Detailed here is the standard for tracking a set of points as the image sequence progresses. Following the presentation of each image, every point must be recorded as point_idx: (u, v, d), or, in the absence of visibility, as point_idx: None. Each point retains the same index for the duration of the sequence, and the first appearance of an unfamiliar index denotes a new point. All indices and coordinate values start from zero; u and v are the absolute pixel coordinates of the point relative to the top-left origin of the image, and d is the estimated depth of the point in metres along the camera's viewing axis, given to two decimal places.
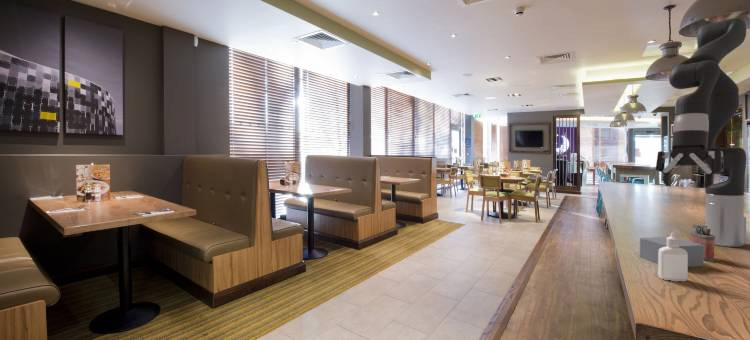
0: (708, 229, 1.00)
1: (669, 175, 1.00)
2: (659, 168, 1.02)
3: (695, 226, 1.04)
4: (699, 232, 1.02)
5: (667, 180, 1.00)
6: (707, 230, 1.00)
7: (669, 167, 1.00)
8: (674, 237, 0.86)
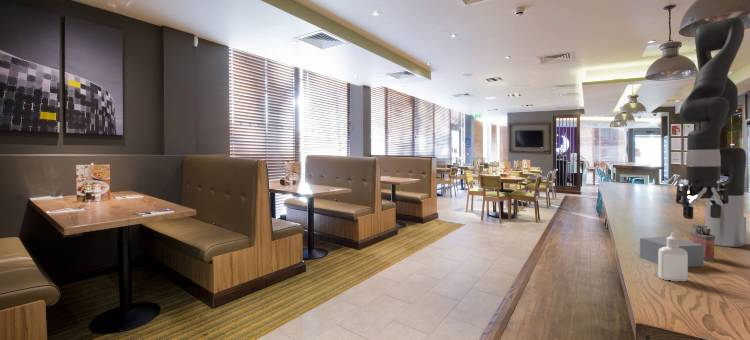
0: (708, 229, 1.00)
1: None
2: (686, 202, 1.01)
3: (695, 226, 1.04)
4: (699, 232, 1.02)
5: (692, 213, 1.01)
6: (707, 230, 1.00)
7: (694, 201, 1.01)
8: (674, 237, 0.86)
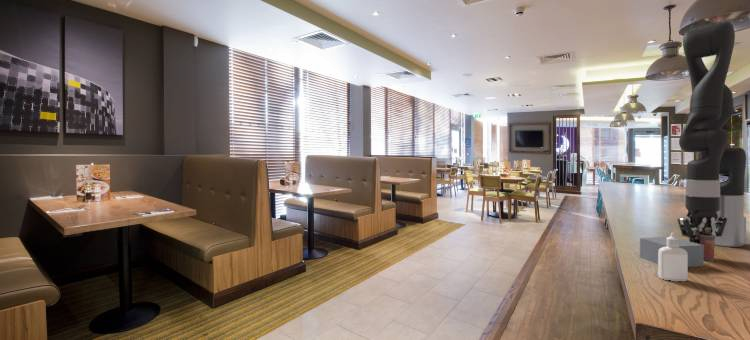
0: (708, 229, 1.00)
1: None
2: (692, 235, 1.01)
3: None
4: None
5: None
6: (707, 230, 1.00)
7: (698, 233, 1.01)
8: (674, 237, 0.86)
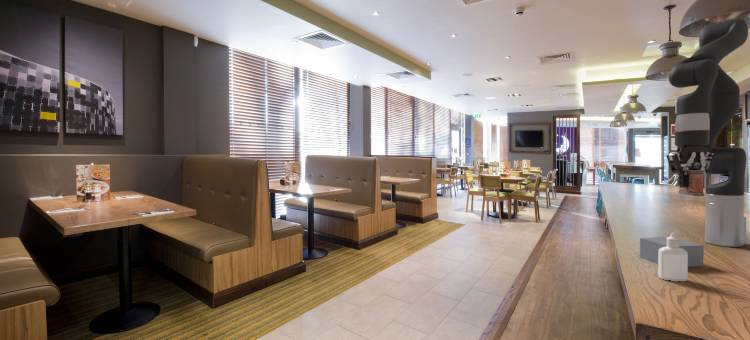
0: (697, 163, 0.98)
1: None
2: (681, 170, 0.99)
3: None
4: None
5: (688, 182, 0.99)
6: (696, 164, 0.98)
7: (688, 168, 0.99)
8: (674, 237, 0.86)
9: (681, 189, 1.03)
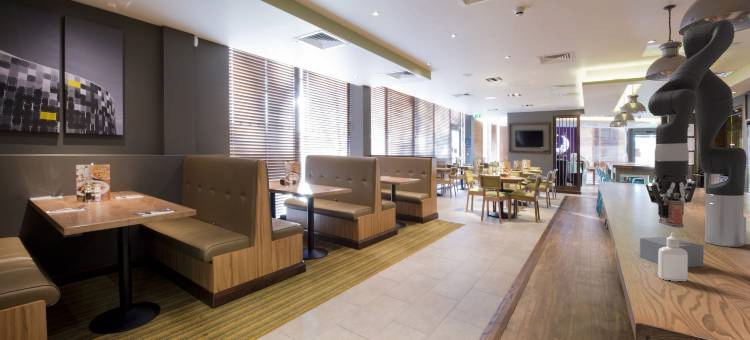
0: (677, 194, 0.97)
1: None
2: (661, 200, 0.98)
3: None
4: None
5: (667, 212, 0.98)
6: (676, 195, 0.97)
7: (667, 198, 0.98)
8: (674, 237, 0.86)
9: (661, 218, 1.02)
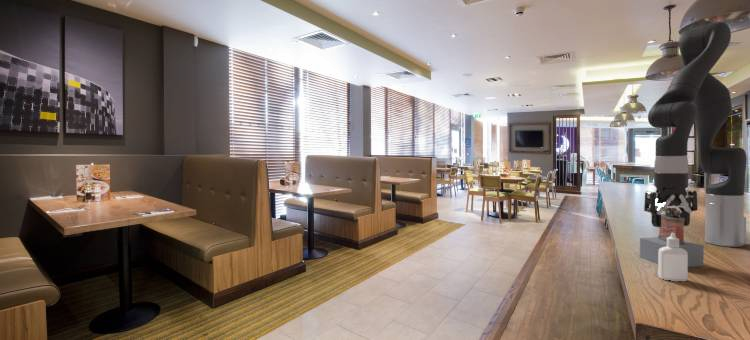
0: (678, 211, 0.97)
1: None
2: (654, 210, 0.98)
3: (664, 209, 1.01)
4: (669, 215, 0.99)
5: (660, 222, 0.98)
6: (677, 212, 0.97)
7: (662, 208, 0.98)
8: (674, 237, 0.86)
9: (661, 235, 1.02)
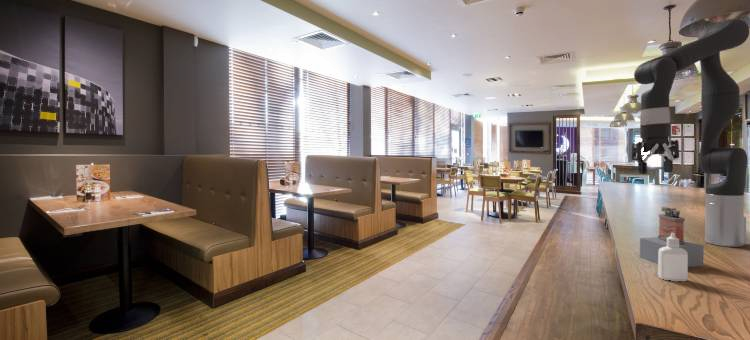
0: (677, 211, 0.97)
1: None
2: (640, 158, 1.08)
3: (664, 209, 1.01)
4: (668, 215, 0.99)
5: (646, 169, 1.08)
6: (676, 212, 0.97)
7: (647, 156, 1.08)
8: (674, 237, 0.86)
9: (661, 235, 1.02)
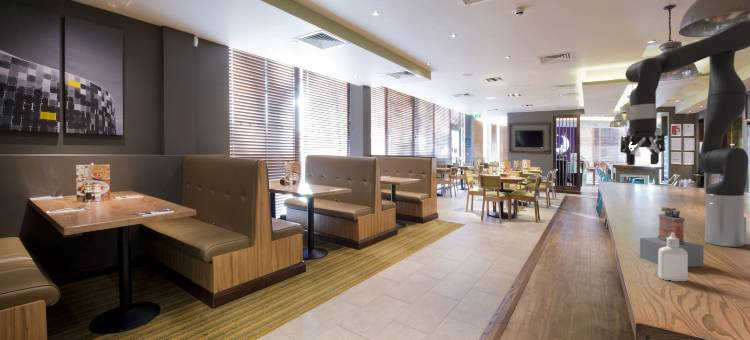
0: (677, 211, 0.97)
1: None
2: (628, 150, 1.17)
3: (664, 209, 1.01)
4: (668, 215, 0.99)
5: (633, 160, 1.17)
6: (676, 212, 0.97)
7: (635, 149, 1.17)
8: (674, 237, 0.86)
9: (661, 235, 1.02)
